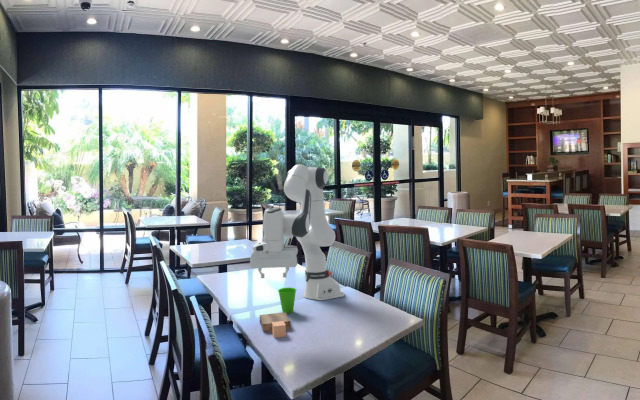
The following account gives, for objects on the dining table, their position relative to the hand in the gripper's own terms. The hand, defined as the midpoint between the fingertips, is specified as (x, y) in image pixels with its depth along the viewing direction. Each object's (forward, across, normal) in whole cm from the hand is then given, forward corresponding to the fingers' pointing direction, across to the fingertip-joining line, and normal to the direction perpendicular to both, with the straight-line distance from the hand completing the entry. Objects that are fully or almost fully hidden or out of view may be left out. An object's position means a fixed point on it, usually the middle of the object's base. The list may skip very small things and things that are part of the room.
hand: (273, 277), depth 184 cm
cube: (+24, -2, +4) cm, 24 cm away
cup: (+23, -8, -24) cm, 34 cm away
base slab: (+24, -1, -6) cm, 25 cm away
